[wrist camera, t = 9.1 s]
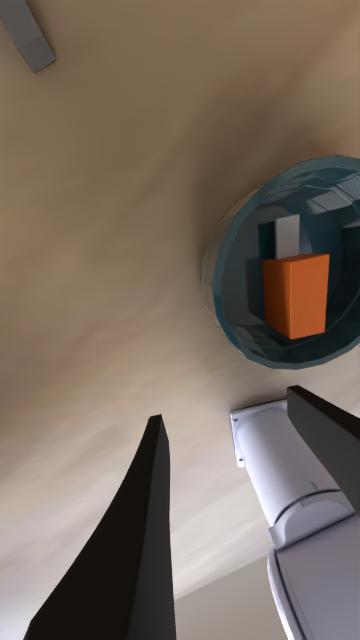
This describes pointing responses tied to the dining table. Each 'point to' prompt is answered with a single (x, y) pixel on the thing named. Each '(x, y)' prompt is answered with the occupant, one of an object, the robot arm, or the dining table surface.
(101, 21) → the dining table surface
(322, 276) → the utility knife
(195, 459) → the dining table surface
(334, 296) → the bowl
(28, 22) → the machine pistol
